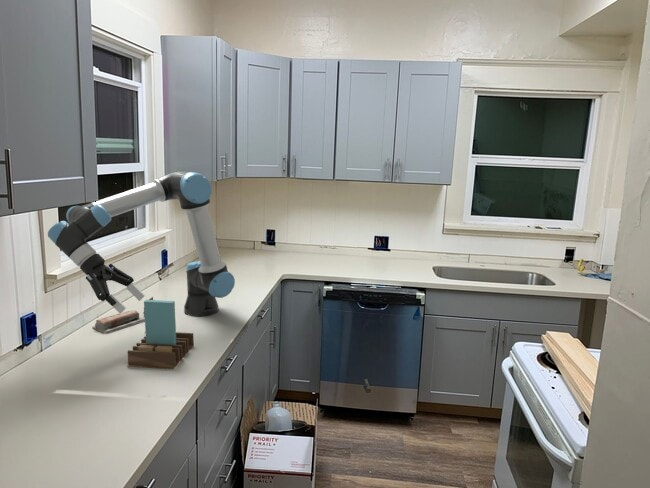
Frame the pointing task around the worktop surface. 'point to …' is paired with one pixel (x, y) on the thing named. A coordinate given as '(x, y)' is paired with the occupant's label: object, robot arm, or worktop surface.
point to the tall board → (160, 322)
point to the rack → (161, 353)
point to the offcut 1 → (146, 348)
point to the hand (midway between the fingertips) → (133, 304)
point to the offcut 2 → (163, 349)
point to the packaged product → (118, 322)
